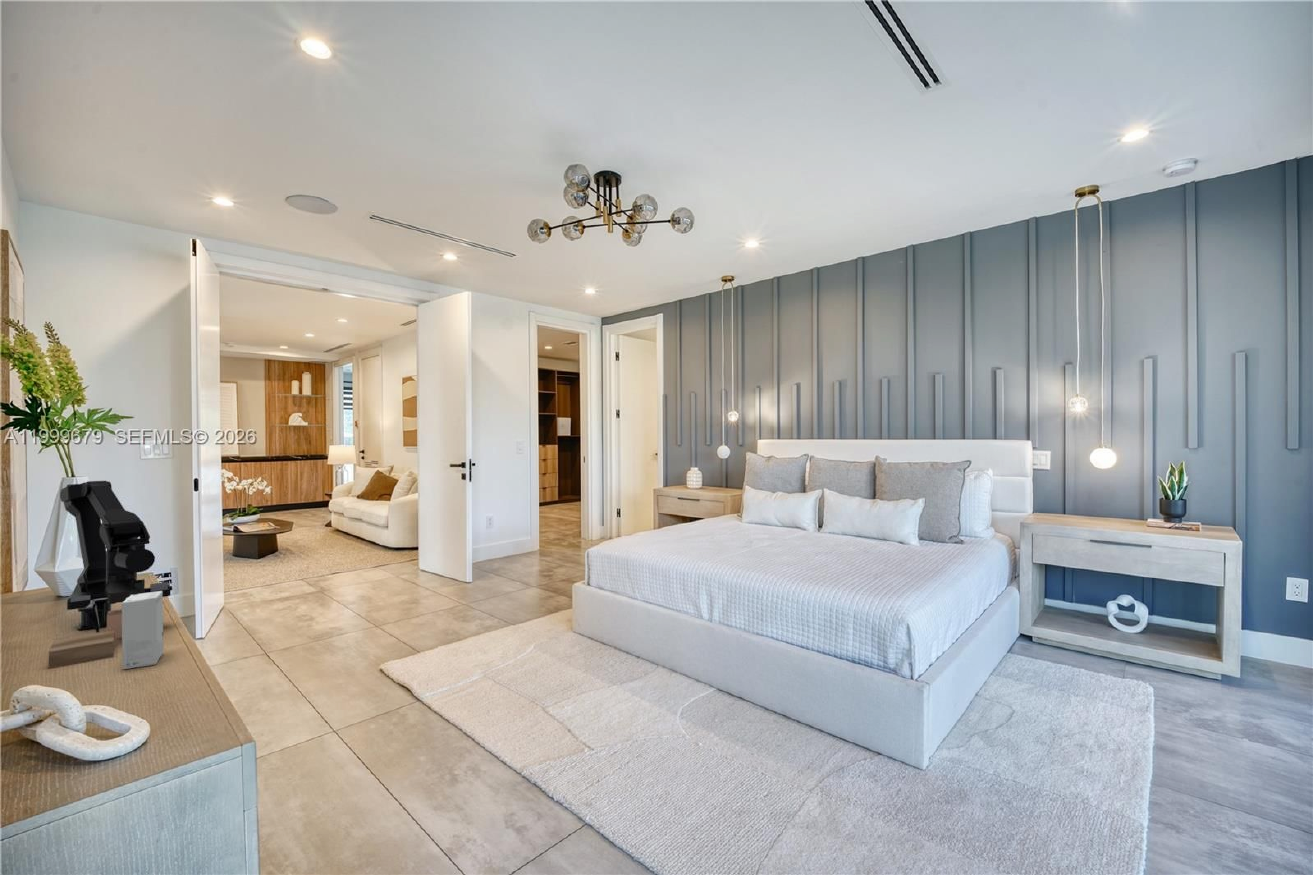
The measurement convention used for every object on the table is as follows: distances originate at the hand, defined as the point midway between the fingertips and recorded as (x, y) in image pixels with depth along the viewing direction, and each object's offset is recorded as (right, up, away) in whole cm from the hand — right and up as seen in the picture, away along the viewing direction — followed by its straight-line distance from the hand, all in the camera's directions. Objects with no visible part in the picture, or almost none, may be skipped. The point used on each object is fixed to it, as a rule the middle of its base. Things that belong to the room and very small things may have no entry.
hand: (120, 629), depth 142 cm
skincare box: (+21, -2, -16) cm, 26 cm away
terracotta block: (0, -2, 0) cm, 2 cm away
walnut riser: (+4, -2, -14) cm, 14 cm away
